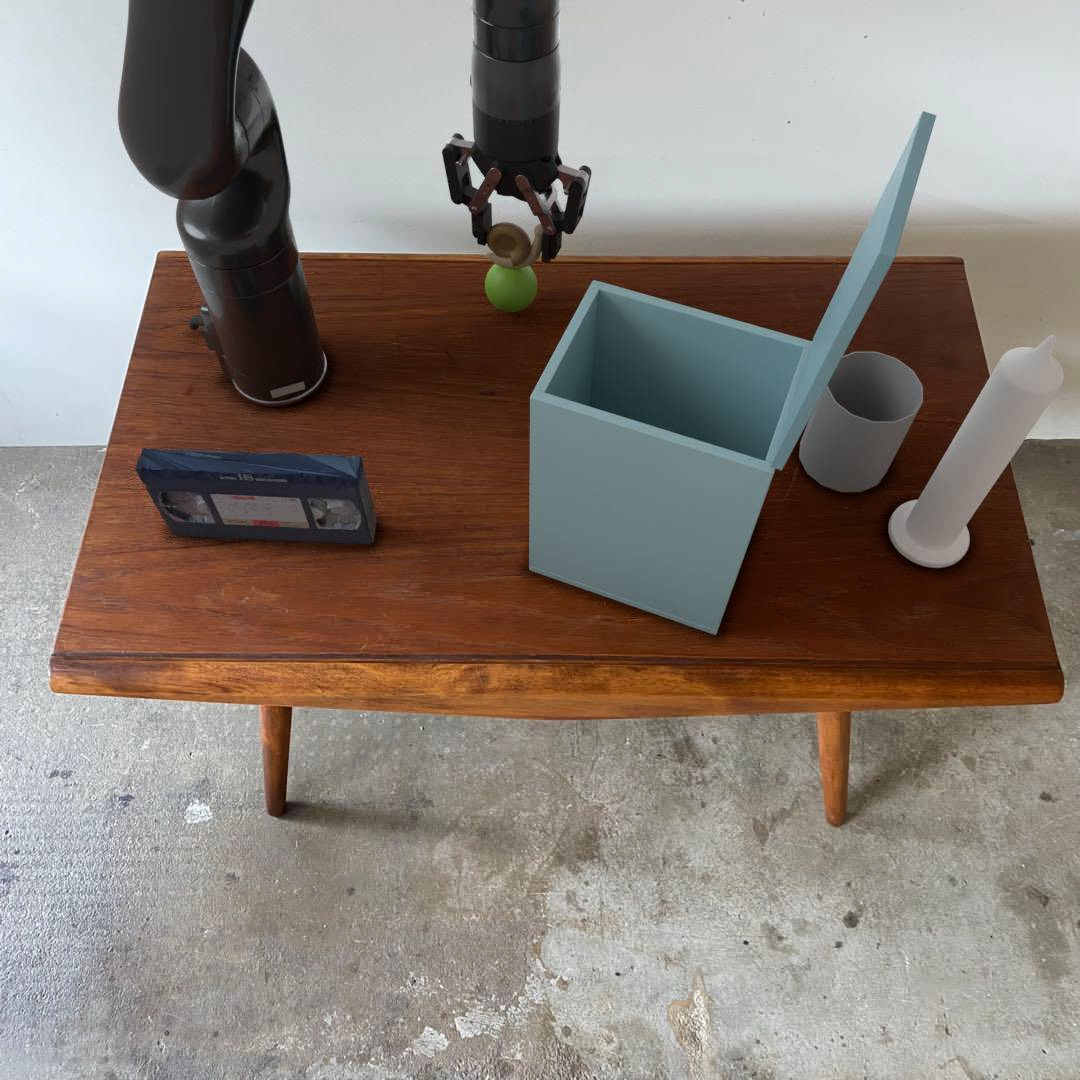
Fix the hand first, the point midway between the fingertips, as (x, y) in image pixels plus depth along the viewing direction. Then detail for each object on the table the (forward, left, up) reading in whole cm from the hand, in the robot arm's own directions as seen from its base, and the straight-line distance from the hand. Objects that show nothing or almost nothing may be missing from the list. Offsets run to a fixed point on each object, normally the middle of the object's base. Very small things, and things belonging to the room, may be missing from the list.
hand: (516, 248), depth 95 cm
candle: (+45, -12, -9) cm, 48 cm away
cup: (+36, -6, -9) cm, 38 cm away
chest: (+22, -23, -8) cm, 33 cm away
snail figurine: (0, 0, -8) cm, 8 cm away
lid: (+31, -23, +24) cm, 45 cm away
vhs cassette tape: (-9, -34, -9) cm, 36 cm away
